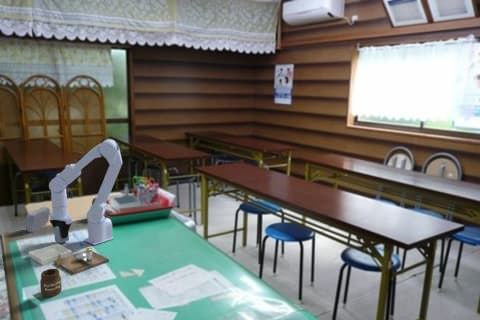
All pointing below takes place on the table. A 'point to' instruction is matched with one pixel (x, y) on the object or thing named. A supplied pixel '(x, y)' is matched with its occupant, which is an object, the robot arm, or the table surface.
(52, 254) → the tray
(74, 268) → the crank base
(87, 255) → the crank
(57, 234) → the block
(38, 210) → the stone block
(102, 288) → the table surface
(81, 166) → the robot arm
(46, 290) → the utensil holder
